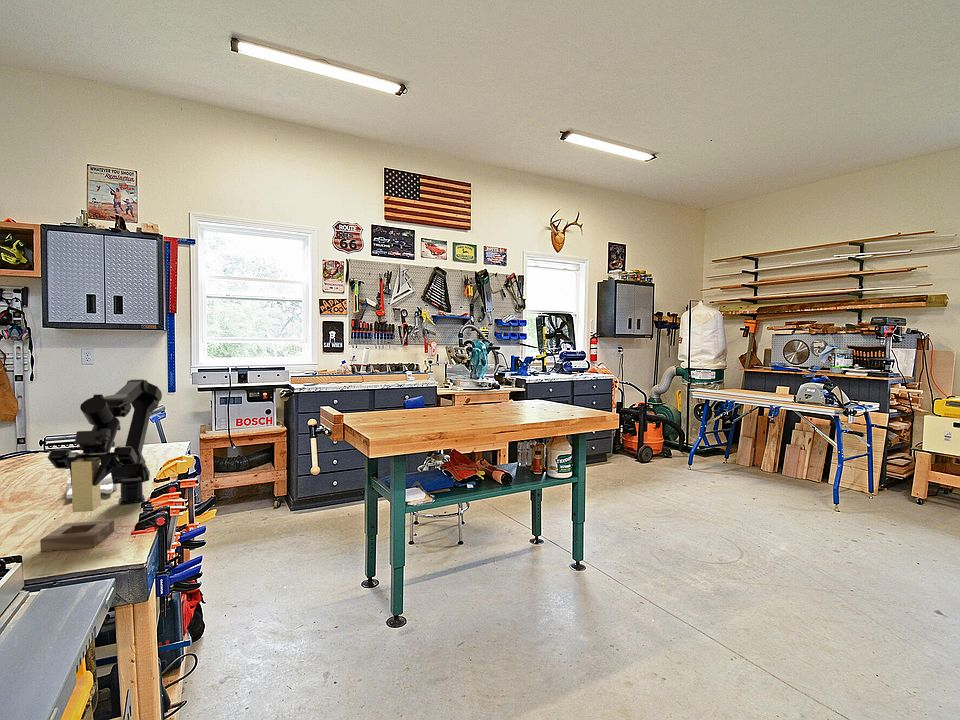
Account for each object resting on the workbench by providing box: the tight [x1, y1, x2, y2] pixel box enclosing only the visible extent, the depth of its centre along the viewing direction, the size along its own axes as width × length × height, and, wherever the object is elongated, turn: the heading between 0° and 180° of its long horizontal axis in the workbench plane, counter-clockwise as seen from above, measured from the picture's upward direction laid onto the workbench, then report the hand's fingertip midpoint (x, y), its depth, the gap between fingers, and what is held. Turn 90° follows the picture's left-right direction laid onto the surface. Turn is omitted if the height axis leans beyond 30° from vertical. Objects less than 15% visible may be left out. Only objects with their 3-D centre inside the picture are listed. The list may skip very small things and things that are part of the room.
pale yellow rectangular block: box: [71, 457, 102, 513], centre depth 128 cm, size 4×4×13 cm
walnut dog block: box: [39, 519, 115, 552], centre depth 125 cm, size 11×11×3 cm
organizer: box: [66, 463, 119, 499], centre depth 171 cm, size 13×5×35 cm
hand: (83, 485), depth 127 cm, fingers closed on pale yellow rectangular block, 4 cm apart
